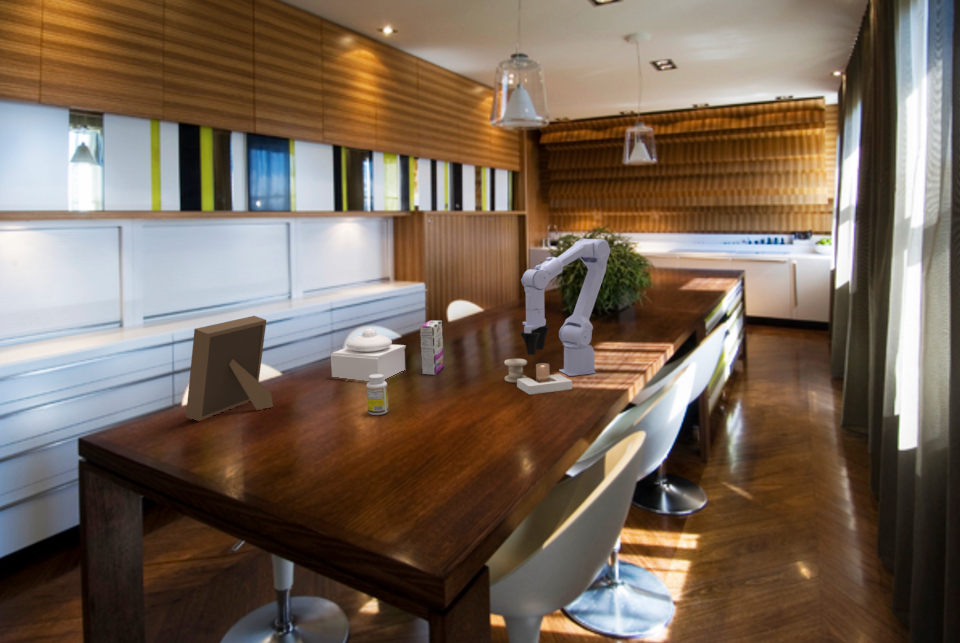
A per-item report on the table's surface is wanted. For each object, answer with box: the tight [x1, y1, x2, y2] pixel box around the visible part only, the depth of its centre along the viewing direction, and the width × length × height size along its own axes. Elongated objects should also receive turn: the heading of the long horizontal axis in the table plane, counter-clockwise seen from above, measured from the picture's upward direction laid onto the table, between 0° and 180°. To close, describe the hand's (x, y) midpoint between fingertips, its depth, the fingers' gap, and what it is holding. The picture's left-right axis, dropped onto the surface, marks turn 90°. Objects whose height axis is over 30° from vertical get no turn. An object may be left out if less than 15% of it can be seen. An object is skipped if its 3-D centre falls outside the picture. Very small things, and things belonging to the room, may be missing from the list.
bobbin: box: [504, 358, 528, 384], centre depth 205 cm, size 7×7×6 cm
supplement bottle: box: [365, 374, 390, 416], centre depth 174 cm, size 6×6×10 cm
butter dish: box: [330, 328, 407, 381], centre depth 215 cm, size 18×18×16 cm
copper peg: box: [535, 362, 551, 383], centre depth 195 cm, size 4×4×7 cm
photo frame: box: [185, 315, 274, 421], centre depth 176 cm, size 15×22×25 cm
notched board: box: [516, 373, 573, 395], centre depth 195 cm, size 14×9×2 cm, turn 110°
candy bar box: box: [419, 320, 445, 376], centre depth 217 cm, size 11×5×16 cm, turn 168°
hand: (535, 351), depth 202 cm, fingers open, 7 cm apart
